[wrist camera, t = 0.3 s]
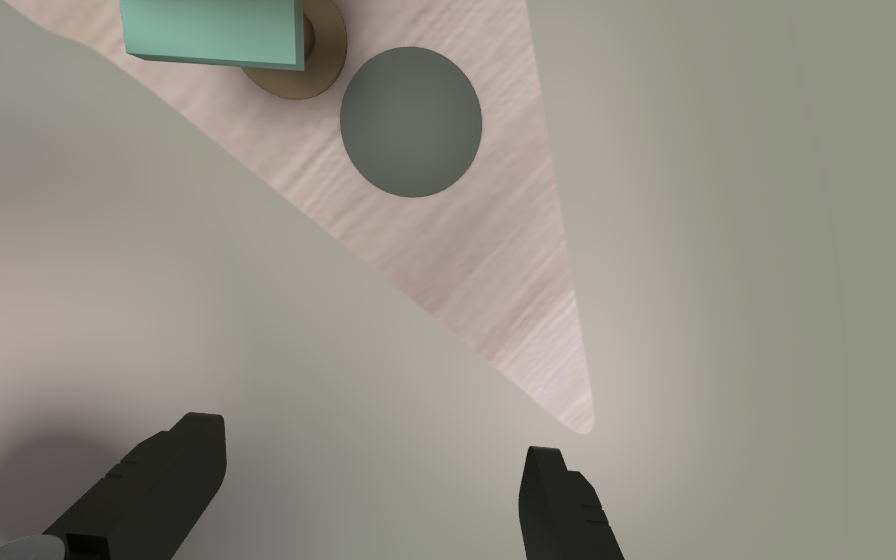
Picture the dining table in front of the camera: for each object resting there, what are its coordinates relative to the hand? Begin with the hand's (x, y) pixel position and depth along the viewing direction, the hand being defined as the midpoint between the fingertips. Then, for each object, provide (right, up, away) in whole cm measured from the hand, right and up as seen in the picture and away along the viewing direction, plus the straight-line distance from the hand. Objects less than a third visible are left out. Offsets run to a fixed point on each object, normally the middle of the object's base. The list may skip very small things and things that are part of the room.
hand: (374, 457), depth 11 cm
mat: (-1, +18, +25) cm, 31 cm away
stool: (-11, +24, +23) cm, 35 cm away
